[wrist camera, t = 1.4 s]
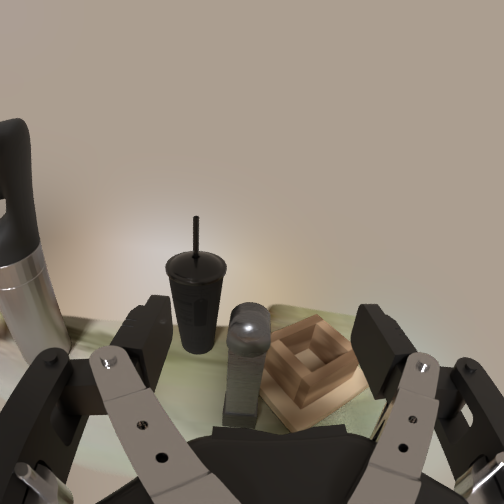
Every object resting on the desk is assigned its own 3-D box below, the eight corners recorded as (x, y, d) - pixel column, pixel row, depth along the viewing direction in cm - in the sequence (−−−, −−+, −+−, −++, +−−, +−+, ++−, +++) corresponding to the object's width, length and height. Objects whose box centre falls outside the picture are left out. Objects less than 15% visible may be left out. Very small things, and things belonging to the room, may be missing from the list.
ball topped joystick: (222, 425, 30) (225, 325, 22) (225, 403, 33) (230, 299, 25) (254, 428, 30) (274, 330, 22) (255, 406, 33) (274, 303, 25)
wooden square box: (235, 363, 39) (237, 330, 36) (309, 332, 46) (317, 301, 43) (294, 436, 29) (307, 410, 26) (369, 386, 36) (386, 356, 33)
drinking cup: (232, 338, 44) (241, 215, 34) (204, 369, 37) (203, 236, 28) (192, 319, 46) (190, 202, 37) (162, 346, 40) (149, 219, 31)
